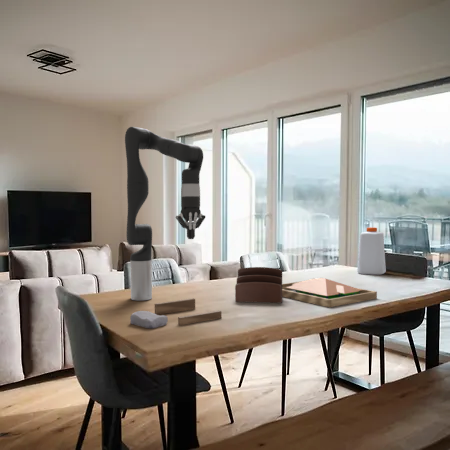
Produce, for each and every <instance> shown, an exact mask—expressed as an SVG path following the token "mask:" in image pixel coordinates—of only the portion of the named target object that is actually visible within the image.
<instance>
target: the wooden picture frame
mask: <svg viewBox="0 0 450 450" xmlns="http://www.w3.org/2000/svg"><path fill="white" fill-rule="evenodd" d="M302 281H303V280H302ZM302 281H295V282H287V283H282V298H287V299H292V300H295V301H300V302H304V303H309V304H314V305H318V306H321V307H325V308H326V307H327V308H332V307H333V308H334V307H338V306H340V307H341V306H343V305H349V304H355V303H359V302H360V303H361V302H366V301H370V300H376V299H378V291H377V290H376V291H375V290H368V289H364V288H357V287H356V288H357V289H360V290H362V291H360V292H356V293H355V295H352V294H351V295H350V296H349V295H348V296H347V295H345V296H344V295H343V296H342V297H341V296H340V297H338V298H335V297H334V298H329V299H328V298H327V297H322V296H321V297H320V296H319V297H318V295H315V296H313V294H311V295H310V294H306V293H303V294H302V292H299V291H298V292H296V291H294V290H291V289H290V288H286V287H289V286H292V284H295V283H298V282H302ZM358 293H359V294H358ZM353 294H354V293H353Z"/></svg>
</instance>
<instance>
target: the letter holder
mask: <svg viewBox="0 0 450 450" xmlns="http://www.w3.org/2000/svg"><path fill="white" fill-rule="evenodd" d="M282 284H283V270H282V269H280V268H276V267H265V266H263V267H262V266H252V267H243V268H242V267H241V268H239V269H237V277H236V284H235V286H234V290H235V291H234V292H235V294H234V295H235V297H234V298H235V303H261V304H262V303H267V304H270V303H271V304H282V302H283V297H282Z"/></svg>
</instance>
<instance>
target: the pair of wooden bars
mask: <svg viewBox="0 0 450 450" xmlns="http://www.w3.org/2000/svg"><path fill="white" fill-rule="evenodd" d="M190 310H196V298H193V297H192V298H186V299H185V298H184V299H178V300H172V301H166V302H157V303H154V314H156V315H159V316H160V315H164V314H171V313H178V312H183V311H190ZM219 319H222V310H214V311H207V312H201V313H196V314H188V315H183V316H182V315H181V316H179V317H178V318H177V321H178V322H177V323H178V324H177V325H178V326H183V325H185V326H186V325H190V324H194V323H201V322H207V321H213V320H219Z"/></svg>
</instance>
